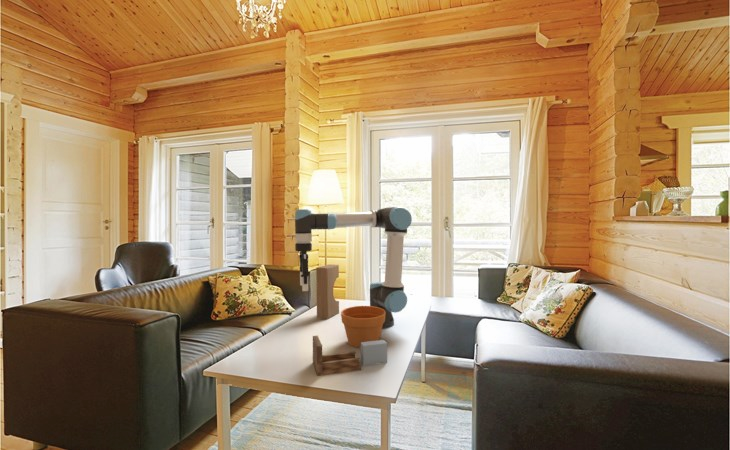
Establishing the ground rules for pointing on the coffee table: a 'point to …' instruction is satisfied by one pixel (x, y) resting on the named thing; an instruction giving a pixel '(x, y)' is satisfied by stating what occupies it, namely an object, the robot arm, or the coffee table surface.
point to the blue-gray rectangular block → (373, 352)
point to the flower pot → (363, 324)
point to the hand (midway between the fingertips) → (304, 288)
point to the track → (333, 360)
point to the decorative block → (326, 291)
